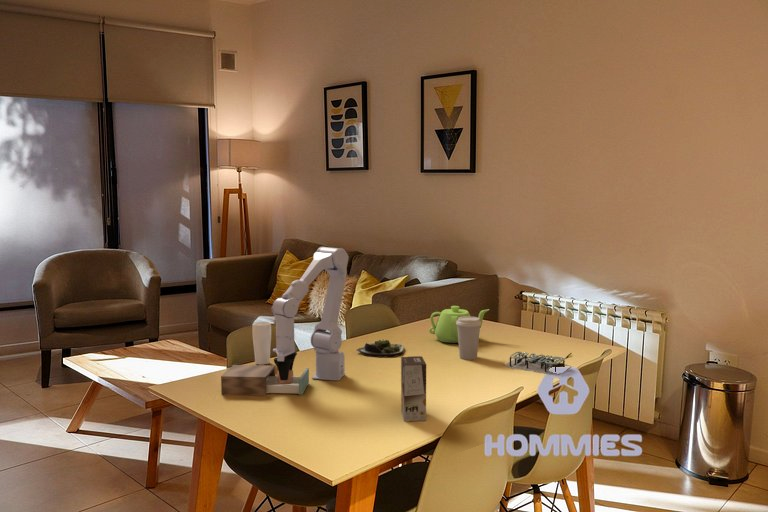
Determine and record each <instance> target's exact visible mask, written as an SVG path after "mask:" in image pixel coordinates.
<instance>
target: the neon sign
mask: <svg viewBox="0 0 768 512" xmlns="http://www.w3.org/2000/svg"><path fill="white" fill-rule="evenodd" d="M571 355H572V352H570V353H569V354H567V356H565V357H561V356H553V355H548V354H547V355H545V354H542V353H541V354H538V355H536V353H535V352H532V353H528V352H526V351H525V352H522V351H515V352H514V353H513V354H511V355H509V362H506V363H505V364H504V367H505V368H509V369H514V370H522V371H525V372H526V371H528V372H533V373H537V374H544V375H551V376H557V375H558V374H557V373H553V372H550V371H549V369H550V368H552V367H555V372H556V367H565V366H570V365H569V364H566V363H565V362H566V361H565V360H567V358H568V357H570V356H571Z"/></svg>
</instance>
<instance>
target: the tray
mask: <svg viewBox="0 0 768 512" xmlns="http://www.w3.org/2000/svg"><path fill="white" fill-rule="evenodd" d="M309 371H310V368H309V367H306V368H305V369H304V371H303V372H302V374H301V375H300V376H294V375H293V383H291V384H286V385H283V384H278V383H277V375H275V376H268V377H267V378H266V390H267V394H298V395H299V396H302V395H303V394H304V391H305V390H306V388H307V387H308V385H309V383H310V372H309Z"/></svg>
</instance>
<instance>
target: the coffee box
mask: <svg viewBox="0 0 768 512" xmlns="http://www.w3.org/2000/svg"><path fill="white" fill-rule="evenodd" d="M400 363H401V364H400V369H401V370H400V375H401V376H400V383H401V385H400V386H401V390H400V397H401V398H400V407H401V408H400V409H401V410H400V411H401V415H402V419H403V421H404V422H421V421H422V422H425V421H426V420H427V363H426V362H425V360H424V358H423V356H420V355H417V356H413V355H412V356H401V357H400Z"/></svg>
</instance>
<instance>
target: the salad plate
mask: <svg viewBox="0 0 768 512" xmlns="http://www.w3.org/2000/svg"><path fill="white" fill-rule="evenodd" d="M404 349H405V346H404V345H403V344H401V343H391V342H390V340H388V339H386V340H385V339H379V340H376V341H374V342H373V343H372V342H371V343H367V342H366V343H365V344H364V345H363V347H359V348H357V349H356V352H359V353H361V354H362V355H364V356H366V357H378V358H393V357H398V356H401V354H403V352H404Z"/></svg>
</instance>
